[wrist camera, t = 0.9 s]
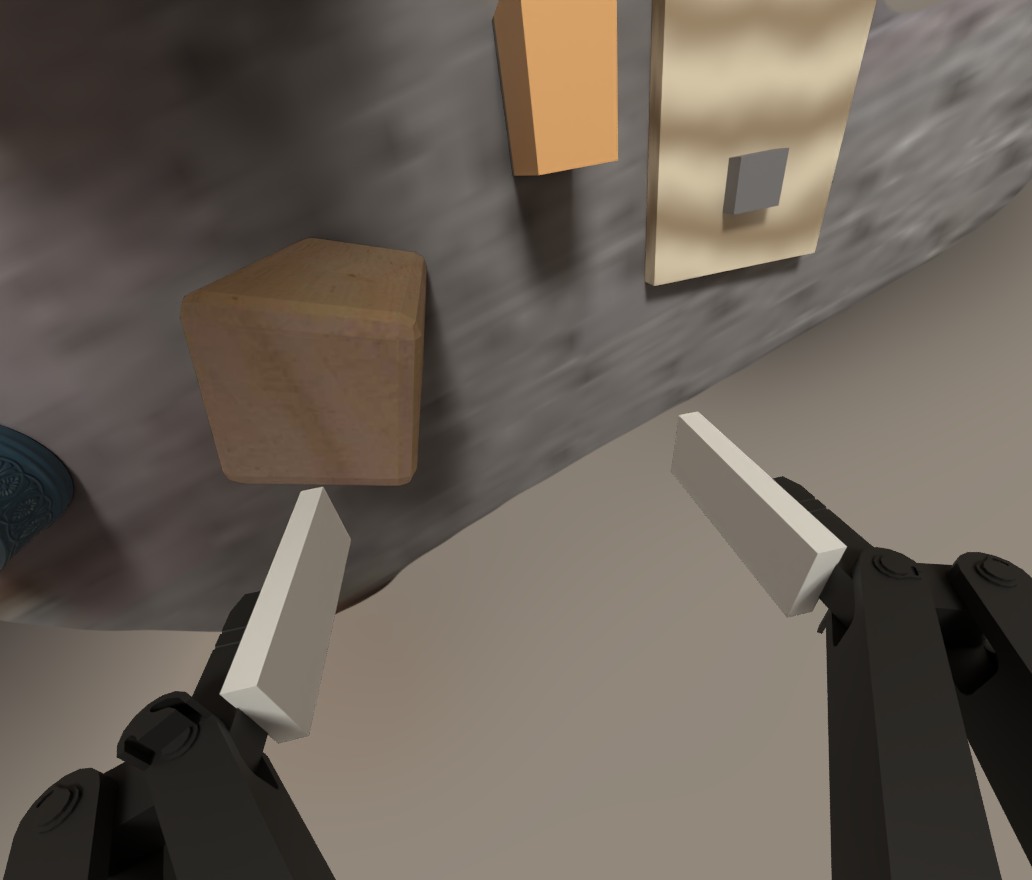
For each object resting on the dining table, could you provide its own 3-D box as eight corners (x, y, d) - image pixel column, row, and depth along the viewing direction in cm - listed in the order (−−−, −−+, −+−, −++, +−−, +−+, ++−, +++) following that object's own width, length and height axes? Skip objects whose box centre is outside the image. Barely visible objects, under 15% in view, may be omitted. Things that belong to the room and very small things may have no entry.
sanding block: (491, 20, 28) (516, -47, 19) (562, 8, 28) (616, -62, 20) (512, 175, 33) (538, 175, 24) (572, 164, 33) (617, 160, 25)
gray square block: (729, 157, 33) (741, 156, 31) (775, 148, 33) (789, 147, 32) (722, 213, 35) (733, 214, 34) (765, 204, 35) (778, 205, 34)
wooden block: (427, 252, 35) (422, 321, 18) (423, 361, 40) (416, 493, 23) (300, 234, 32) (160, 293, 16) (313, 352, 38) (218, 490, 21)
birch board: (654, -61, 27) (668, -77, 25) (876, -97, 28) (904, -114, 26) (644, 281, 39) (654, 286, 37) (798, 249, 40) (814, 252, 38)
